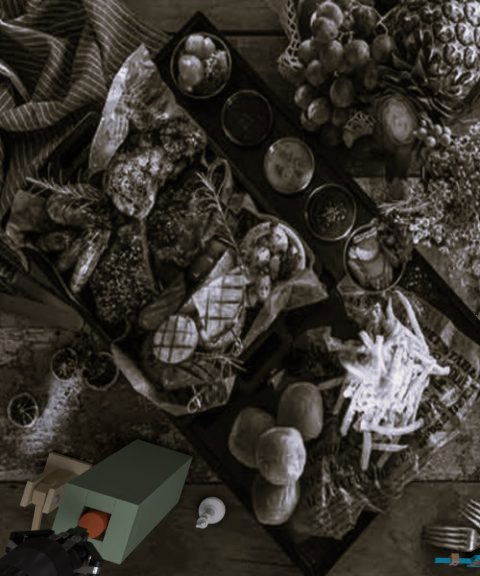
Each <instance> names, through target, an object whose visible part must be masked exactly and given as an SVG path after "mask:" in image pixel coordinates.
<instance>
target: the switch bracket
mask: <svg viewBox="0 0 480 576" xmlns="http://www.w3.org/2000/svg"><path fill="white" fill-rule="evenodd" d="M92 467H93V463H90V462H87V461H83V460H80V459H77V458H75V457H70V456H67V455H64V454H61V453H58V452H56V451H55V452H54V451H51V452H49V453H48V456H47V460H46V463H45V466H44V469H43V472H42V473H40V474H38V475H36V476H34V477H33V478H31V479H29V480H27V481H26V484H25V486H24V489H23V493H22V497H21V500H20V504H19V506H20V507H24V508H26V507H28V506H29V505H31V504H32V503H31V502H32V497H33V492H34V489H35V488H36V487H37V486H38V485H39V484H40V483H43V484H46V485H49V486H52V487H51V488H50V489H49V492H48V495H47V498H46V501H45V505H44V508H43V511H42V512H43V514H46V515H48V514H49V513H51V512H53V511H54V510H55V509H57V508H59V505H60V502H61V499H62V495H63V492H64V489H65V486H66V483H67V482H69V481H70V480H72V479H74V478H75V477H77V476H79V475H80V474H82V473H84V472H85V471H87V470H88V469H90V468H92Z"/></svg>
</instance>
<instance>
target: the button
mask: <svg viewBox="0 0 480 576" xmlns="http://www.w3.org/2000/svg"><path fill="white" fill-rule="evenodd" d="M109 521H110V515H109V513H107V512H104V511H100V510H97V509H94V508H93V509H91V510H90V511H89V512H87V513H86V514H85V515H84V516H82V517H81V519H80V521H79V526H80V527H84V528H87V529H88V530H87V532H88V533H89V537H88V538H94V537H97V536H98V535H100V534H101V533H102V532H103V531H104V530H105V529H106V528H107V527H108V524H109Z"/></svg>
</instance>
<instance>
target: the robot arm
mask: <svg viewBox="0 0 480 576" xmlns="http://www.w3.org/2000/svg"><path fill="white" fill-rule="evenodd" d="M87 530H88V529H87V528H84V527H80V526H76V527H75V528H70V529H68V530H67V531H66V532H60V533H59V534H55V531H54V530H52V528H46V529H40V530H31V529H29V530H16V531H14V530H13V531H11V532H10V534H9V537H8V539H7V543H6V547H5V550H4V552H5V553H6V554H3V556H2V557H0V576H80V575H81V574H83V575H87V576H100V574H101V571H102V567H103V564H104V562H105V560H104V559H103V558H102V557H101V555H100V554H99V552H98V551H97V549H96V548H95V546H94V545H93V543H92V542H89V541H87V540H88V537H89V533H88V532H87Z"/></svg>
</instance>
